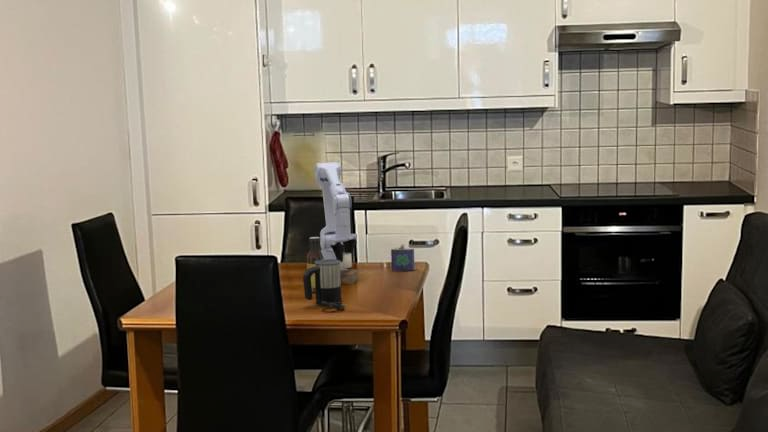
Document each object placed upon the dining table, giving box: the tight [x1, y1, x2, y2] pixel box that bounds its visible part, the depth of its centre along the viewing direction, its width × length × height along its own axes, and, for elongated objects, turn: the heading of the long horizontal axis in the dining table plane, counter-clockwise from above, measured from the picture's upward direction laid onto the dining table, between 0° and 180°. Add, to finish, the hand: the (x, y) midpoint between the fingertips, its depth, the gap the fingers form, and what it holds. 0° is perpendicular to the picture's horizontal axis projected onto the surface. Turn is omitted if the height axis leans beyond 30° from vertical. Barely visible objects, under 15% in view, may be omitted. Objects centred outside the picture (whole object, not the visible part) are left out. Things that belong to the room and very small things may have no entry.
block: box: [340, 268, 359, 285], centre depth 350 cm, size 8×8×4 cm
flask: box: [390, 244, 416, 273], centre depth 365 cm, size 9×3×11 cm, turn 87°
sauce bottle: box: [306, 236, 324, 293], centre depth 334 cm, size 6×6×20 cm
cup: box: [340, 251, 353, 269], centre depth 349 cm, size 5×5×5 cm
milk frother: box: [302, 259, 345, 311], centre depth 311 cm, size 14×16×15 cm
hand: (344, 260), depth 349 cm, fingers closed on cup, 5 cm apart
